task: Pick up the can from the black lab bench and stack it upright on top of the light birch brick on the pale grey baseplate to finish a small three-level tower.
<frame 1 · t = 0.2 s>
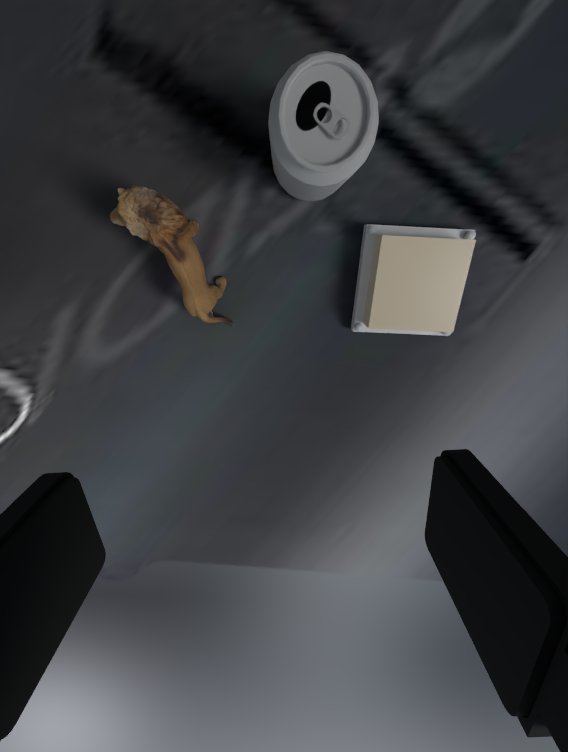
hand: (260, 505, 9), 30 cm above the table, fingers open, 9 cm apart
tower base: (406, 282, 36), on the table
lion figurine: (193, 262, 35), on the table
can: (310, 159, 32), on the table
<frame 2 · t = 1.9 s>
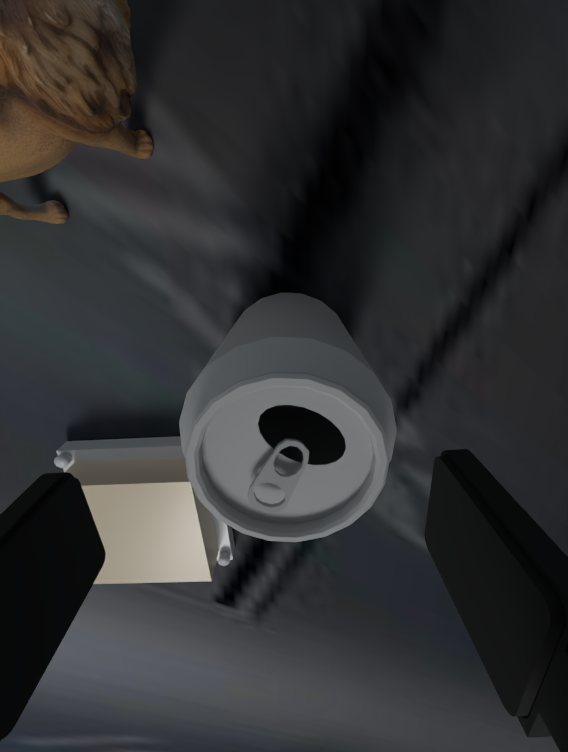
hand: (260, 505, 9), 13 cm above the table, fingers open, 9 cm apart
tower base: (157, 497, 26), on the table
lion figurine: (76, 145, 17), on the table
can: (288, 349, 21), on the table
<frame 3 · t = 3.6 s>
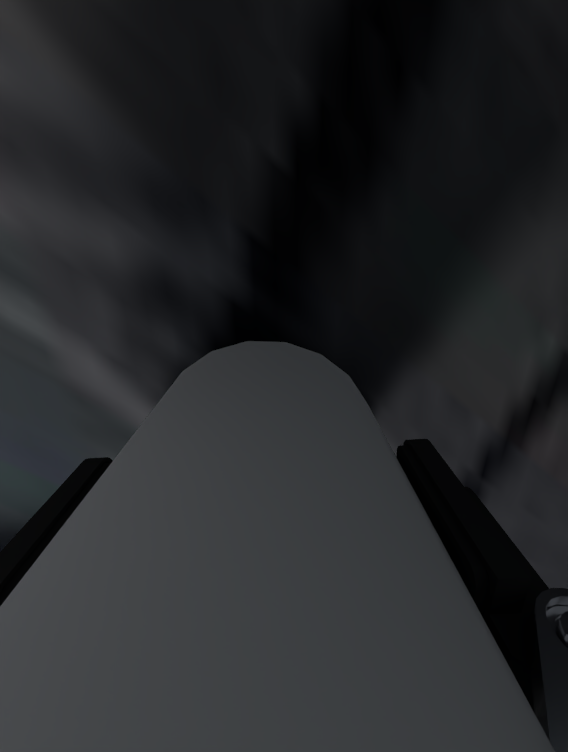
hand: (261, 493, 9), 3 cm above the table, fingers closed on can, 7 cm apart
can: (266, 427, 12), on the table, touching gripper
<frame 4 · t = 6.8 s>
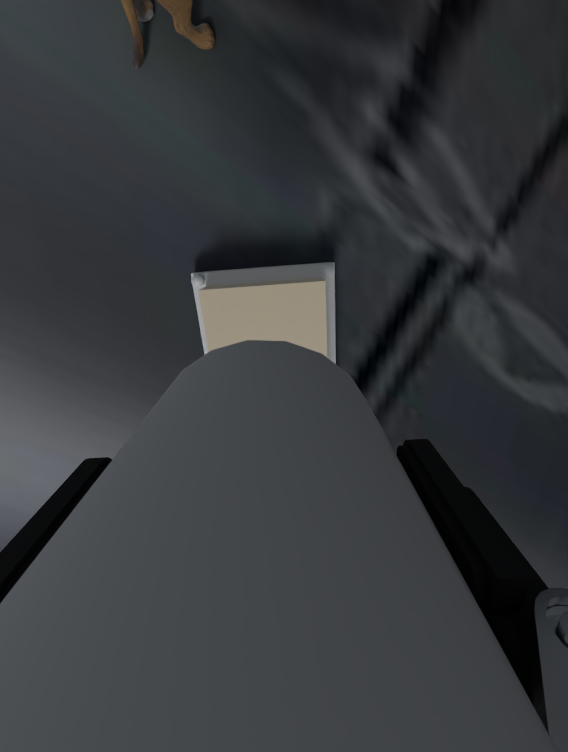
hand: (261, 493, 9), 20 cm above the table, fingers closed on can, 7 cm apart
tower base: (269, 334, 28), on the table
can: (266, 427, 12), point 17 cm above the table, touching gripper
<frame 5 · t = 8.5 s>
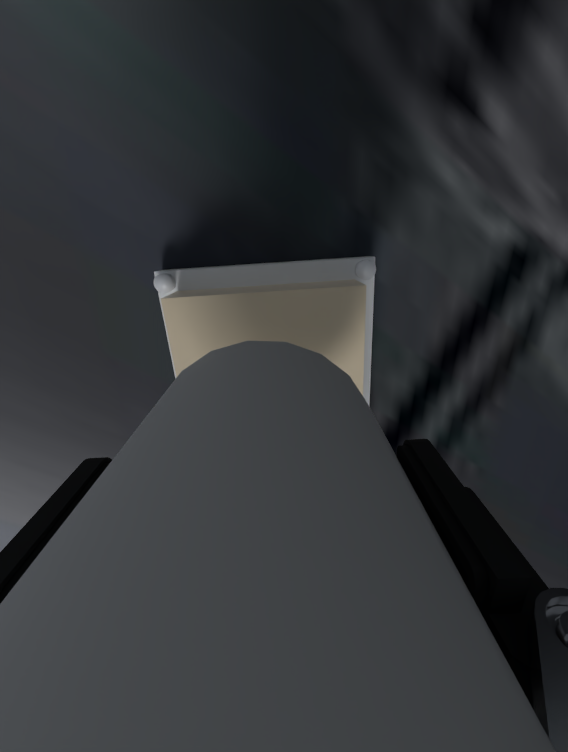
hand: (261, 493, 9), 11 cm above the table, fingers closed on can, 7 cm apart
tower base: (272, 360, 19), on the table
can: (266, 427, 12), point 8 cm above the table, touching gripper
when the fingers open (9 cm above the table, at t = 10.0 s): can drops 2 cm, resting on tower base.
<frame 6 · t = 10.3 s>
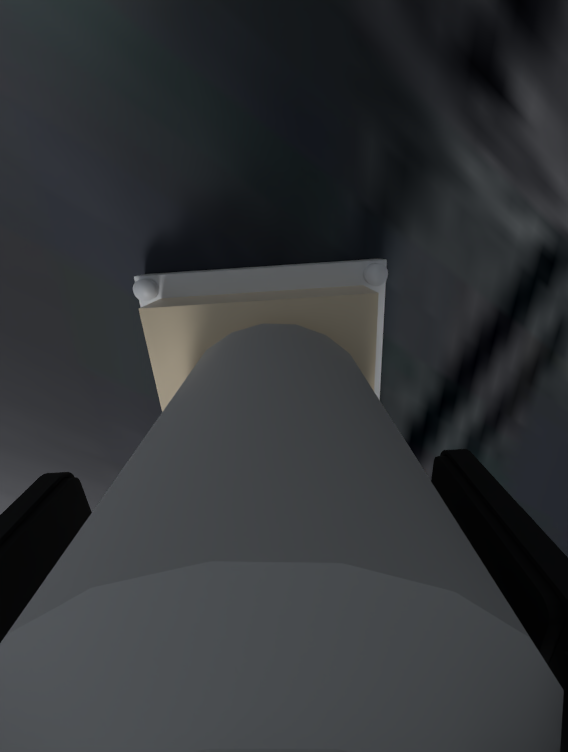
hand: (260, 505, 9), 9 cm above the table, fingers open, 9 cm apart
tower base: (270, 375, 17), on the table
can: (277, 403, 14), point 4 cm above the table, touching tower base
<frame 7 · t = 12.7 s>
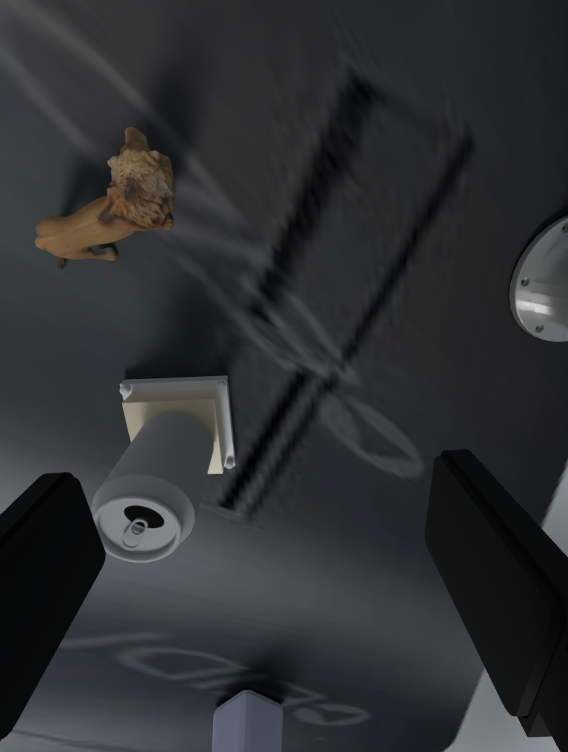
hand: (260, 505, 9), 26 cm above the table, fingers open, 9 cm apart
tower base: (183, 422, 37), on the table
soap bottle: (257, 707, 60), on the table
lion figurine: (126, 218, 30), on the table
can: (179, 438, 34), point 4 cm above the table, touching tower base
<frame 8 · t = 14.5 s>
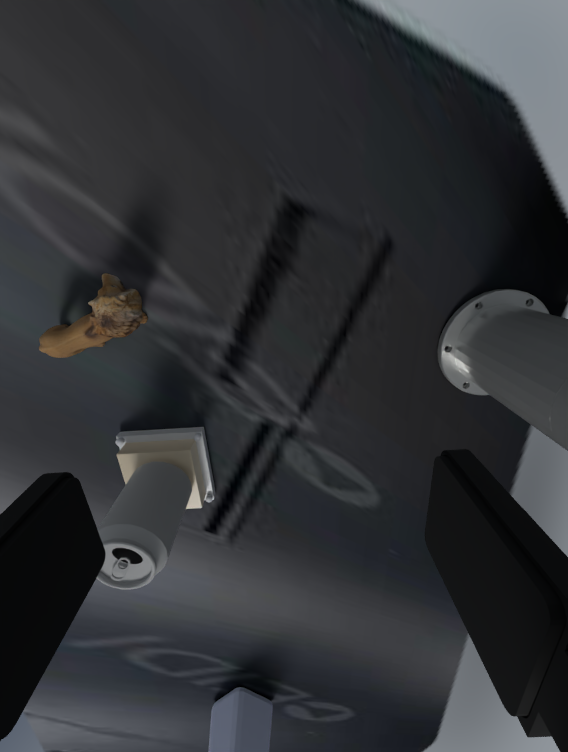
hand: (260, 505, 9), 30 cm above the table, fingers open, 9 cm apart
tower base: (170, 463, 45), on the table
soap bottle: (251, 703, 68), on the table
lion figurine: (111, 314, 37), on the table
can: (164, 480, 41), point 4 cm above the table, touching tower base
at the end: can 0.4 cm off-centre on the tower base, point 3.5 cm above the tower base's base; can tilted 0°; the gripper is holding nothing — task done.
